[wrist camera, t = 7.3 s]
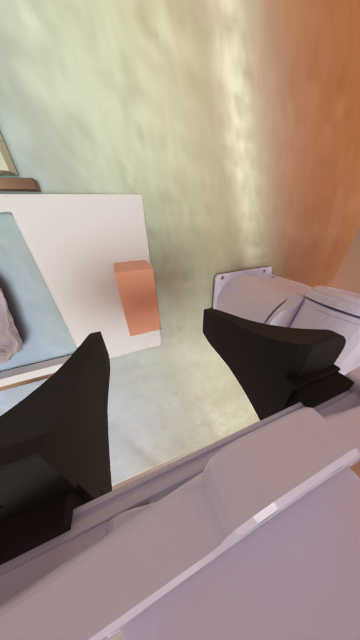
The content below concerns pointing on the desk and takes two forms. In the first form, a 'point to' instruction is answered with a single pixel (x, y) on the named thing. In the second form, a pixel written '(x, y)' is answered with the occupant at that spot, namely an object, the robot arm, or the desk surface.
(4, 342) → the stone block
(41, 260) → the cube strip
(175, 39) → the desk surface
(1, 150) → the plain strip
